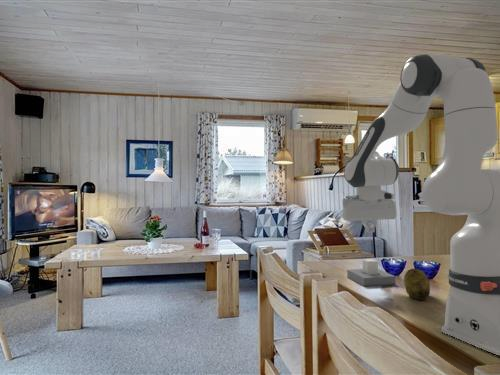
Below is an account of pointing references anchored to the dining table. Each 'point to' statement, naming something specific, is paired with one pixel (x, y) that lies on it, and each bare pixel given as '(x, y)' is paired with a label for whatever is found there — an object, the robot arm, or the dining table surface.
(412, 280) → the potato
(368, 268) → the plug
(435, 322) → the dining table surface
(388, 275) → the socket
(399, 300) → the dining table surface
